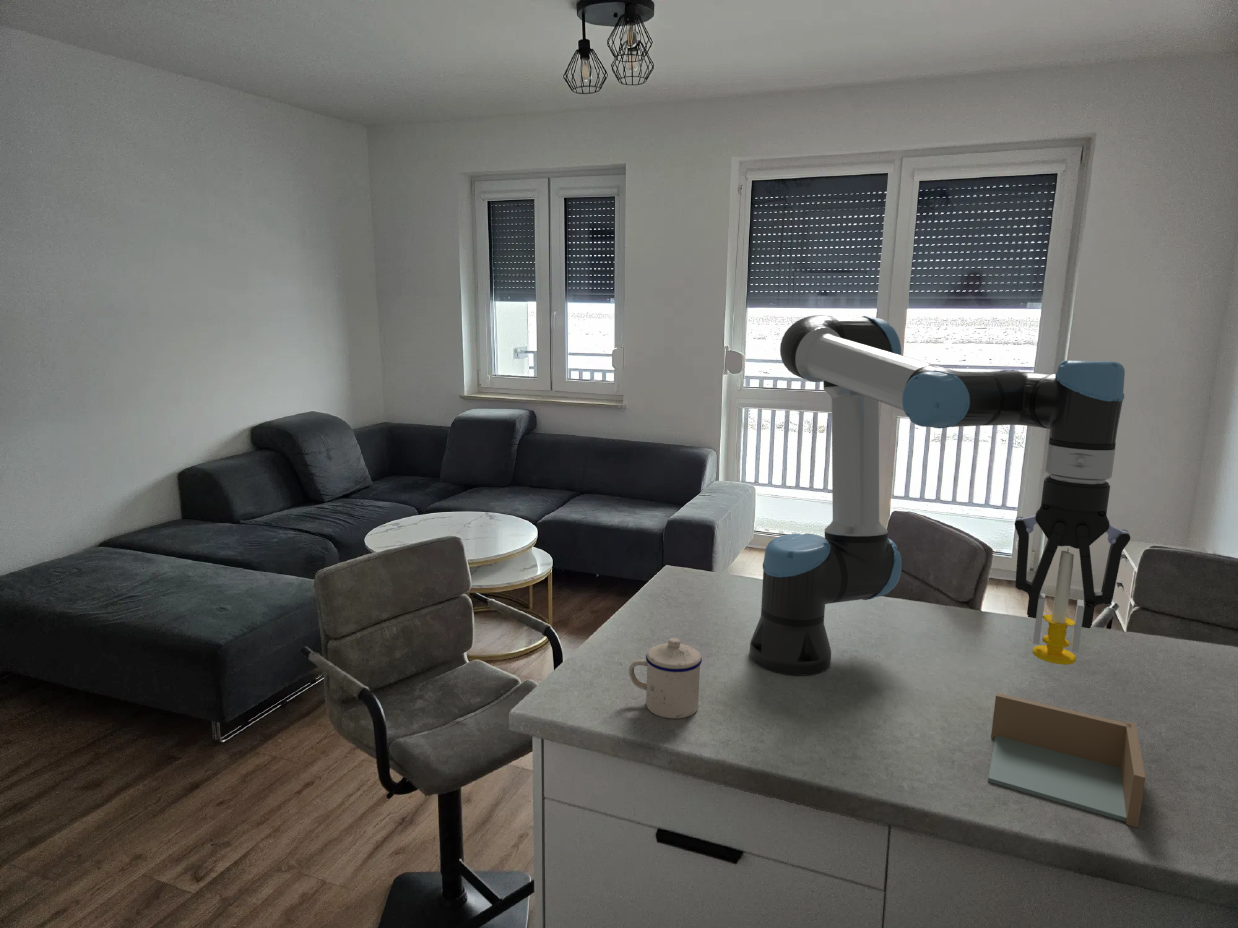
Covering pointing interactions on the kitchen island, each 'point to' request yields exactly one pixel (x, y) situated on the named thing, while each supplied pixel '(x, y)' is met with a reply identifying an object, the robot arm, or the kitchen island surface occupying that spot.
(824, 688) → the kitchen island surface
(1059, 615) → the candle
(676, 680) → the teacup with lid
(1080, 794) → the open room model
